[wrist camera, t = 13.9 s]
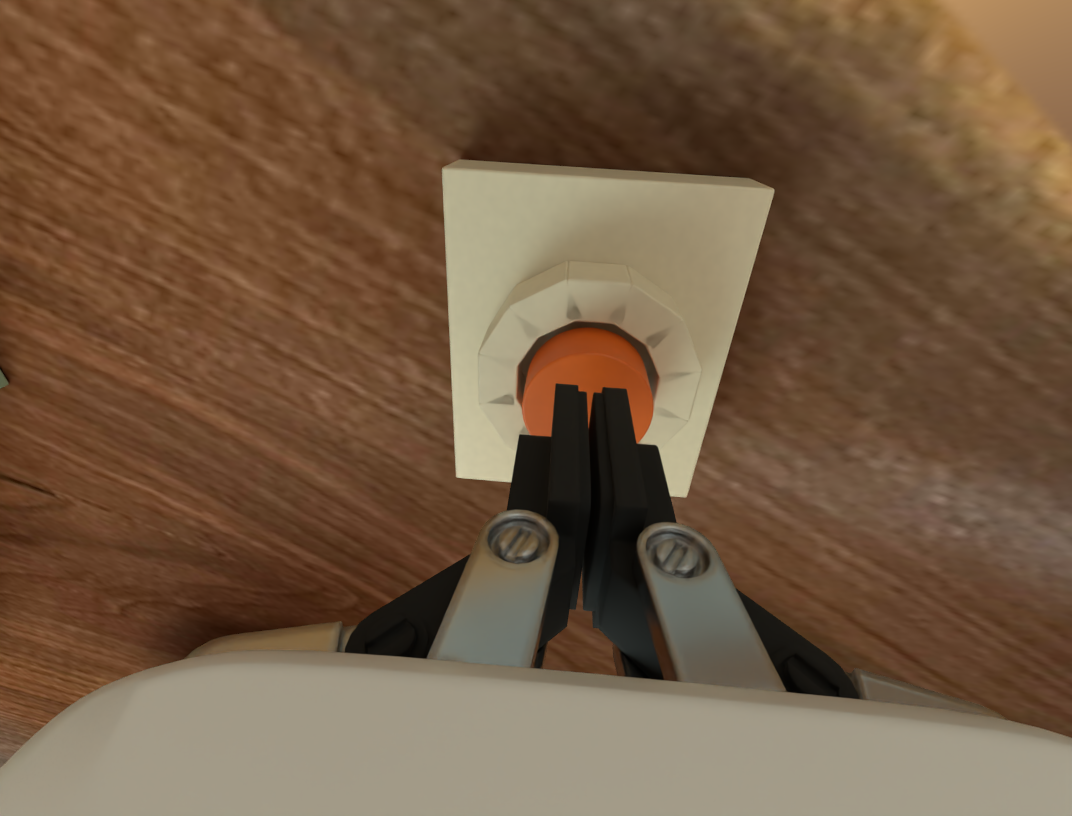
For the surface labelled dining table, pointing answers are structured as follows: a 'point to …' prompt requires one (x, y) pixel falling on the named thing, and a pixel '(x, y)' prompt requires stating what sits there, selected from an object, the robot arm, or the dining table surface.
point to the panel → (592, 291)
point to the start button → (586, 376)
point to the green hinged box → (3, 380)
